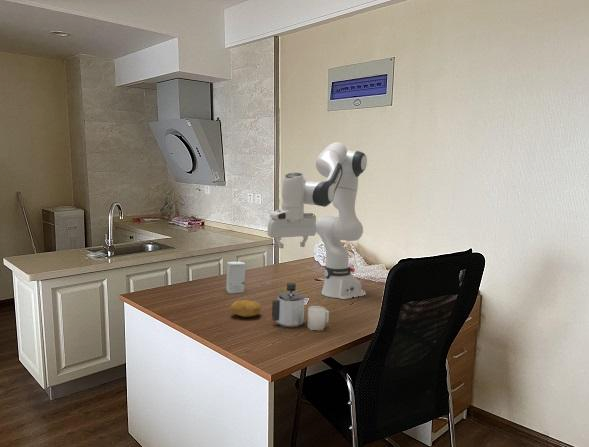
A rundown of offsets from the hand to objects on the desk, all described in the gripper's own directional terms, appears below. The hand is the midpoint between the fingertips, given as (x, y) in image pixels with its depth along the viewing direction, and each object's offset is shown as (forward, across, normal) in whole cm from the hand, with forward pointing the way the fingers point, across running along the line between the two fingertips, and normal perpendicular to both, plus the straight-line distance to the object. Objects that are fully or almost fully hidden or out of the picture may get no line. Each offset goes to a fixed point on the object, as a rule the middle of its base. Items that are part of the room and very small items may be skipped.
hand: (291, 247), depth 178 cm
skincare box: (+31, +11, -46) cm, 56 cm away
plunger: (+29, +2, +4) cm, 29 cm away
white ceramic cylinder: (+31, -6, +12) cm, 33 cm away
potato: (+31, +16, -10) cm, 36 cm away
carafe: (+31, +3, +4) cm, 31 cm away
